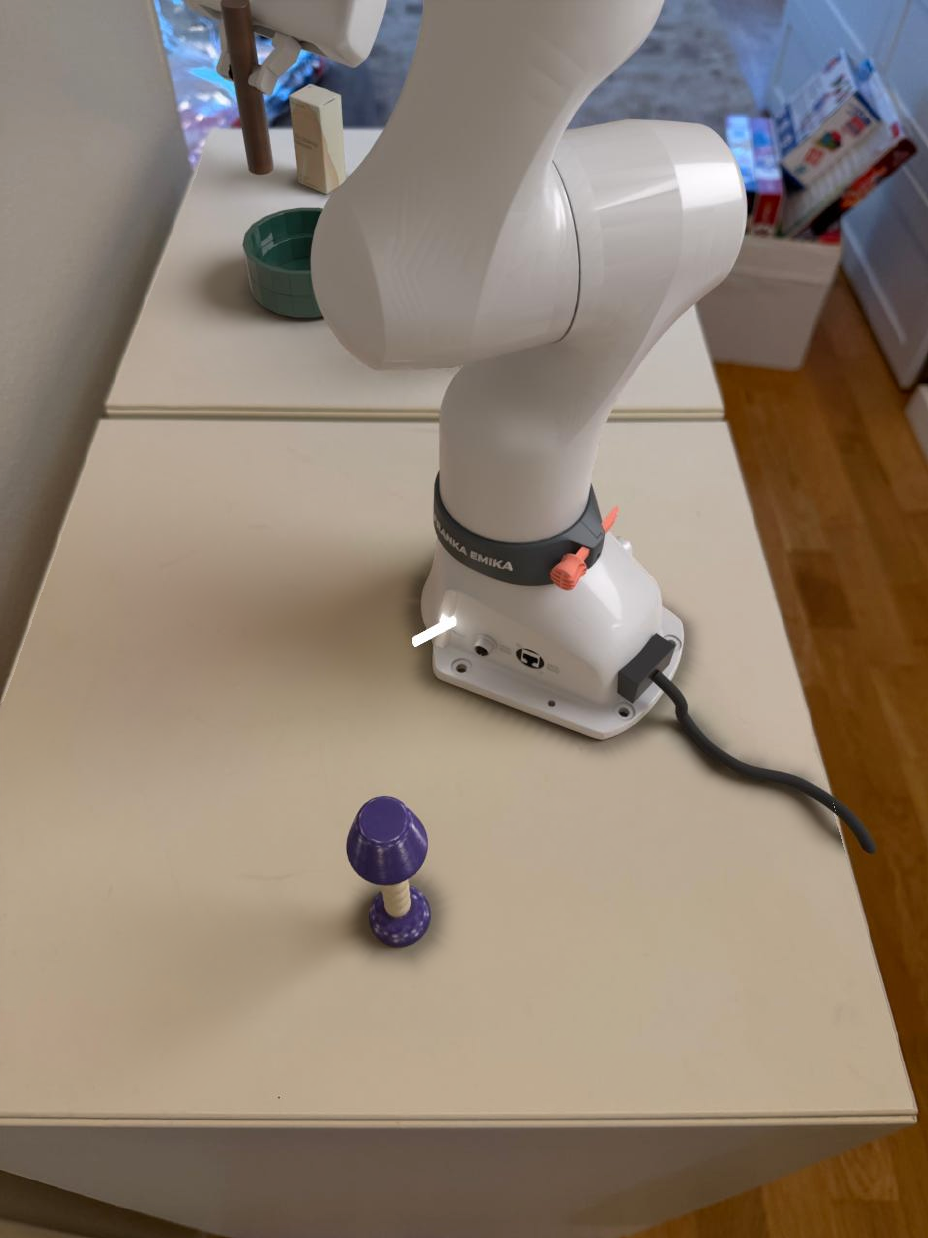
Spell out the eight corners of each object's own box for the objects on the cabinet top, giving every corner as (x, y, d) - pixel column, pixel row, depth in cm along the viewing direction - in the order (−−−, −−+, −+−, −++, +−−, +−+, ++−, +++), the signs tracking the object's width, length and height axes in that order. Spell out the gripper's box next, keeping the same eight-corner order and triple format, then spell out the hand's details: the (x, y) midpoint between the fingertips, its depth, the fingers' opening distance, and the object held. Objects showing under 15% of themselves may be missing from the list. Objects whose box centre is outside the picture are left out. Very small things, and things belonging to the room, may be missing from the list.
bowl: (391, 280, 108) (389, 232, 103) (317, 336, 101) (310, 288, 97) (304, 242, 113) (298, 194, 108) (227, 294, 106) (217, 246, 101)
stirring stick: (279, 167, 88) (255, 0, 77) (262, 177, 87) (235, 10, 75) (260, 159, 89) (234, -7, 77) (243, 169, 87) (214, 2, 76)
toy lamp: (433, 953, 62) (429, 855, 48) (363, 959, 61) (340, 861, 48) (429, 884, 64) (424, 772, 51) (362, 888, 64) (340, 778, 51)
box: (297, 183, 121) (285, 93, 112) (318, 169, 123) (309, 81, 114) (328, 195, 119) (319, 106, 110) (349, 181, 121) (341, 92, 113)
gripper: (189, -132, 79) (134, 33, 82) (379, -79, 72) (311, 99, 75) (234, -83, 84) (181, 69, 87) (414, -30, 78) (350, 134, 81)
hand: (243, 84), depth 81 cm, fingers closed on stirring stick, 2 cm apart
